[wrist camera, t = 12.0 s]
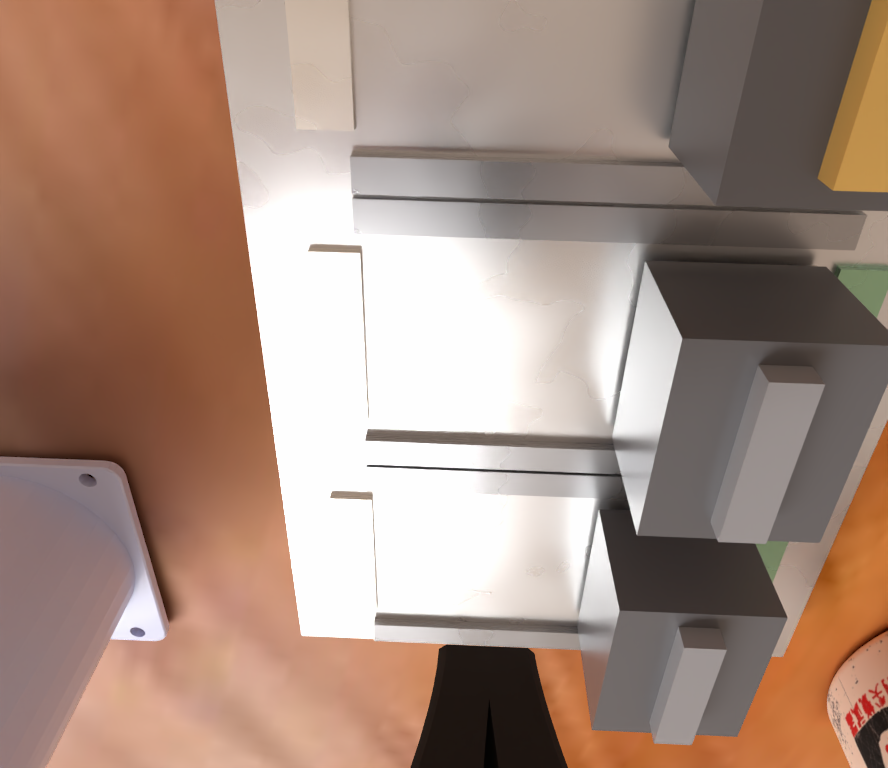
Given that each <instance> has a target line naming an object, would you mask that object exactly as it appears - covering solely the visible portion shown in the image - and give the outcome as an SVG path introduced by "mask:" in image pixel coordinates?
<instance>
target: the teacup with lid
mask: <svg viewBox="0 0 888 768" xmlns="http://www.w3.org/2000/svg"><path fill="white" fill-rule="evenodd" d="M827 710H828V714H829V718H830V721H831V723H832V725H833V728H834V730H835V732H836V734H837V737H838V739H839V741H840V744H841V746H842V748H843V751H844V753H845V755H846V757H847V760H848V762H849V764H850V767H851V768H888V631H886V632H884V633H882V634H880V635H879V636H877V637H875V638H874V639H872V640H871V641H869V642H868V643H866V644H865V645H863V646H862V647H861V648H859V649H858V650H857V651H856V652H855V653H854V654H852V655H851V656H850V657H849V658H848V659H847V660H846V661H845V662H844V664H843V665H842V666H841V667H840V669H839V670H838V671H837V673H836V675H835V676H834V678H833V680H832V683H831V685H830V688H829V691H828V696H827Z"/></svg>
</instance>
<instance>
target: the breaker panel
mask: <svg viewBox="0 0 888 768" xmlns="http://www.w3.org/2000/svg"><path fill="white" fill-rule="evenodd" d="M695 2H696V0H215V7H216V14H217V22H218V29H219V36H220V44H221V51H222V58H223V66H224V73H225V80H226V87H227V95H228V102H229V109H230V117H231V124H232V131H233V139H234V146H235V153H236V161H237V168H238V175H239V182H240V190H241V197H242V204H243V212H244V219H245V226H246V234H247V241H248V248H249V255H250V263H251V270H252V277H253V285H254V292H255V299H256V307H257V314H258V321H259V329H260V336H261V343H262V350H263V358H264V365H265V372H266V380H267V387H268V394H269V402H270V409H271V416H272V423H273V431H274V438H275V445H276V453H277V460H278V467H279V475H280V482H281V489H282V496H283V504H284V511H285V518H286V526H287V533H288V540H289V548H290V555H291V562H292V570H293V577H294V584H295V591H296V599H297V606H298V613H299V621H300V628H301V635H302V636H320V637H342V638H365V639H375V641H390V642H413V643H435V644H458V645H481V646H503V647H526V648H549V649H571V650H581V649H580V642H579V635H578V628H577V624H578V619H579V613H580V608H581V603H582V597H583V592H584V587H585V581H586V576H587V570H588V565H589V560H590V554H591V549H592V544H593V538H594V533H595V527H596V522H597V517H598V511H599V509H604V510H628V511H630V507H629V503H628V499H627V495H626V491H625V487H624V483H623V479H622V475H621V471H620V468H619V464H618V460H617V456H616V452H615V448H614V444H613V440H612V436H613V431H614V425H615V420H616V414H617V409H618V404H619V398H620V393H621V388H622V382H623V377H624V371H625V366H626V361H627V355H628V350H629V345H630V339H631V334H632V328H633V323H634V318H635V312H636V307H637V301H638V296H639V291H640V285H641V280H642V275H643V269H644V264H645V261H673V262H703V263H733V264H763V265H793V266H823V267H827V268H828V269H829V270H830V271H831V272H832V273H833V274H834V275H835V276H836V277H837V278H838V279H839V280H840V281H841V282H842V283H843V284H844V285H845V286H846V287H847V288H848V290H849V291H850V292H851V293H852V294H853V295H854V296H855V297H856V298H857V299H858V300H859V301H860V302H861V303H862V304H863V305H864V306H865V307H866V308H867V309H868V310H869V311H870V312H871V313H872V314H873V315H874V316H875V317H876V318H877V319H878V320H879V321H880V322H881V323H882V324H883V325H884V326H885V327H886V328H887V330H888V211H863V210H831V209H800V208H768V207H737V206H715V204H714V203H713V202H712V201H711V199H710V198H709V197H708V196H707V194H706V193H705V192H704V191H703V189H702V188H701V187H700V186H699V184H698V183H697V182H696V181H695V180H694V178H693V177H692V176H691V175H690V173H689V172H688V171H687V170H686V168H685V167H684V166H683V165H682V163H681V162H680V161H679V160H678V158H677V157H676V156H675V155H674V153H673V152H672V151H671V150H670V148H669V147H668V146H669V140H670V135H671V130H672V124H673V119H674V114H675V108H676V103H677V98H678V92H679V87H680V82H681V76H682V71H683V66H684V60H685V55H686V50H687V44H688V39H689V34H690V28H691V23H692V18H693V12H694V7H695ZM887 420H888V385H887V387H886V389H885V392H884V394H883V396H882V399H881V401H880V404H879V406H878V408H877V411H876V413H875V415H874V418H873V420H872V422H871V425H870V427H869V429H868V432H867V434H866V436H865V439H864V441H863V443H862V446H861V448H860V450H859V453H858V455H857V457H856V460H855V462H854V464H853V467H852V469H851V471H850V474H849V476H848V478H847V481H846V483H845V485H844V488H843V490H842V492H841V495H840V497H839V499H838V502H837V504H836V506H835V509H834V511H833V513H832V516H831V518H830V520H829V523H828V525H827V527H826V530H825V532H824V535H823V537H822V539H821V542H820V543H808V542H784V541H767V543H766V544H756V546H757V549H758V551H759V553H760V555H761V558H762V560H763V562H764V565H765V567H766V569H767V571H768V574H769V576H770V578H771V581H772V583H773V585H774V587H775V590H776V592H777V594H778V596H779V599H780V601H781V603H782V606H783V608H784V610H785V612H786V615H787V617H788V619H787V621H786V623H785V626H784V628H783V630H782V633H781V635H780V637H779V640H778V642H777V644H776V647H775V649H774V651H773V654H772V656H774V657H783V655H784V653H785V651H786V649H787V646H788V644H789V642H790V640H791V637H792V635H793V633H794V630H795V628H796V626H797V624H798V621H799V619H800V617H801V615H802V612H803V610H804V608H805V606H806V603H807V601H808V599H809V597H810V594H811V592H812V590H813V587H814V585H815V583H816V581H817V578H818V576H819V574H820V572H821V569H822V567H823V565H824V563H825V560H826V558H827V556H828V553H829V551H830V549H831V547H832V544H833V542H834V540H835V538H836V535H837V533H838V531H839V529H840V526H841V524H842V522H843V520H844V517H845V515H846V513H847V510H848V508H849V506H850V504H851V501H852V499H853V497H854V495H855V492H856V490H857V488H858V486H859V483H860V481H861V479H862V476H863V474H864V472H865V470H866V467H867V465H868V463H869V461H870V458H871V456H872V454H873V452H874V449H875V447H876V445H877V443H878V440H879V438H880V436H881V433H882V431H883V429H884V427H885V424H886V422H887Z"/></svg>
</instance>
